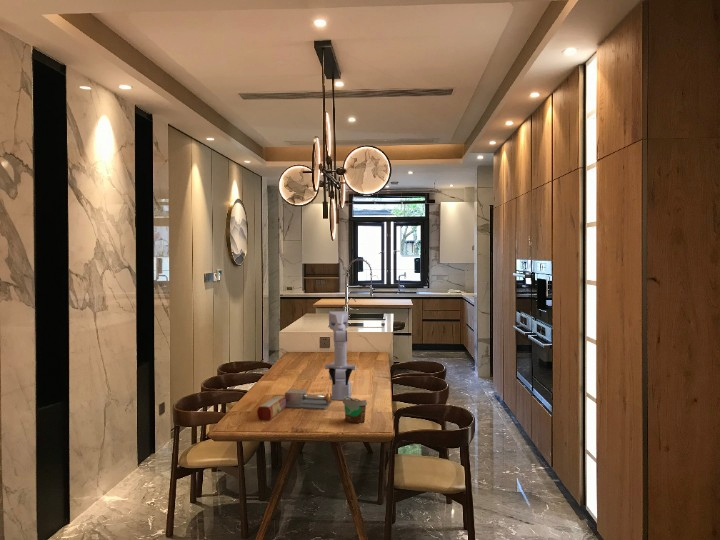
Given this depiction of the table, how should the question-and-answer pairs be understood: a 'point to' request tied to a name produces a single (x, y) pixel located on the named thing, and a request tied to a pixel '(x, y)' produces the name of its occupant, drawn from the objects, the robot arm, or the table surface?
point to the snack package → (271, 408)
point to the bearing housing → (295, 396)
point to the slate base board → (311, 405)
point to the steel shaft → (318, 397)
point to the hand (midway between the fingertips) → (340, 384)
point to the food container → (354, 410)
